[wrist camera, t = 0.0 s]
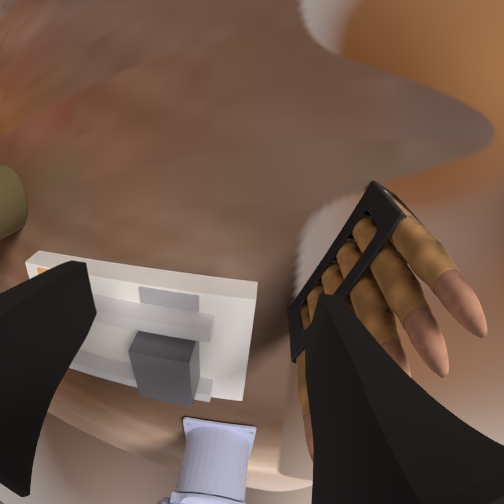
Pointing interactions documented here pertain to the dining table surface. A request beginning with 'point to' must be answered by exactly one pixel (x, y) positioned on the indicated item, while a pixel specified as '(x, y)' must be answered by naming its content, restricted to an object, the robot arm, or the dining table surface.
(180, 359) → the switch tab
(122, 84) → the dining table surface
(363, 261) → the ammunition clip
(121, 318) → the switch board
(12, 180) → the green chess rook
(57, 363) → the robot arm
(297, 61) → the dining table surface
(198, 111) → the dining table surface
